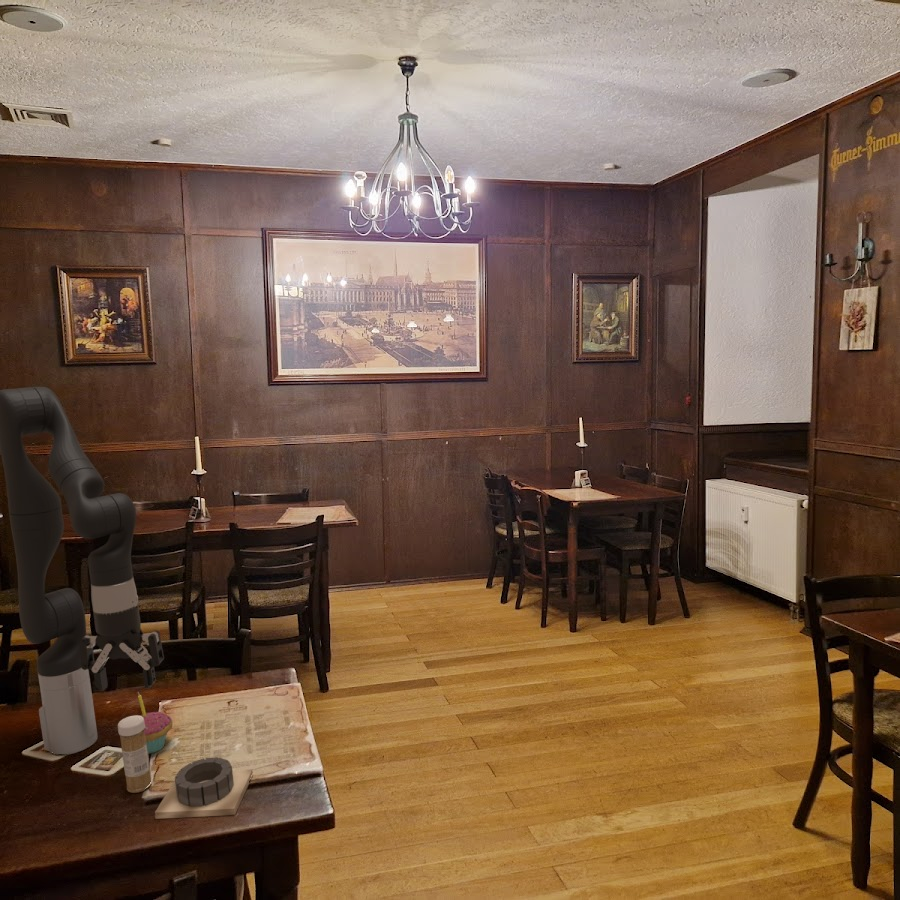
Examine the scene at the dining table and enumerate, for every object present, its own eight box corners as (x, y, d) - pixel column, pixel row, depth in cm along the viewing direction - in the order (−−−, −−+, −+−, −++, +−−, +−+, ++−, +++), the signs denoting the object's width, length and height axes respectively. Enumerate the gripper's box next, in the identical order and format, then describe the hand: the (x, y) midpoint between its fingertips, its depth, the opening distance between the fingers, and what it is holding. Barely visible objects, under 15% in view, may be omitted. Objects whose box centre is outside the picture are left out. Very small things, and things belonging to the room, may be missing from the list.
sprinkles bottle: (151, 777, 145) (142, 712, 143) (153, 789, 141) (144, 722, 139) (125, 784, 143) (116, 718, 141) (126, 797, 139) (117, 729, 137)
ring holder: (155, 818, 132) (152, 794, 131) (180, 778, 144) (177, 756, 143) (234, 814, 132) (232, 790, 131) (252, 775, 144) (250, 752, 143)
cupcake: (121, 755, 154) (113, 700, 152) (150, 734, 161) (144, 681, 160) (155, 761, 151) (147, 705, 149) (183, 739, 158) (177, 685, 157)
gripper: (66, 613, 133) (78, 699, 135) (146, 609, 133) (156, 695, 135) (86, 599, 140) (97, 680, 143) (162, 594, 140) (172, 676, 143)
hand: (126, 688), depth 139 cm, fingers open, 8 cm apart
